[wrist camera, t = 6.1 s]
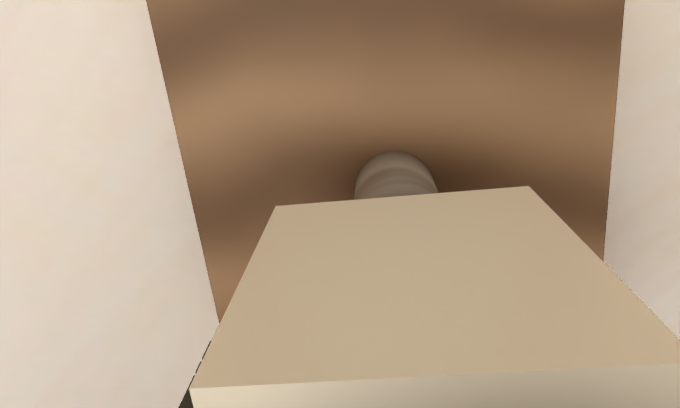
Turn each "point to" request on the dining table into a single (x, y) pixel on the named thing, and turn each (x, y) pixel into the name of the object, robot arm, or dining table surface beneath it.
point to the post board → (385, 107)
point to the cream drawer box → (434, 313)
